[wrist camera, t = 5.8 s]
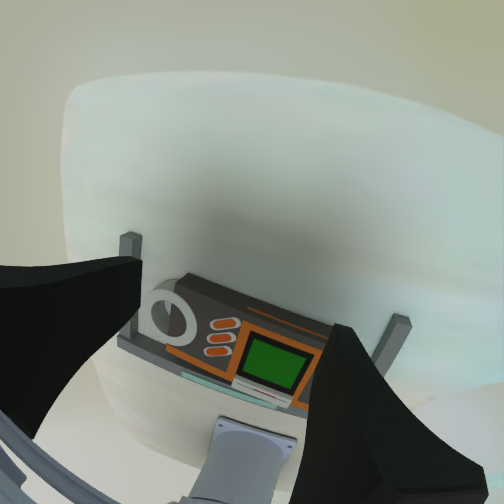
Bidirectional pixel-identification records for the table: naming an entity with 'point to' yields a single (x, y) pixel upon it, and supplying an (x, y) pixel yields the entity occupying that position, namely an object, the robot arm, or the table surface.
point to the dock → (170, 362)
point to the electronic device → (238, 338)
